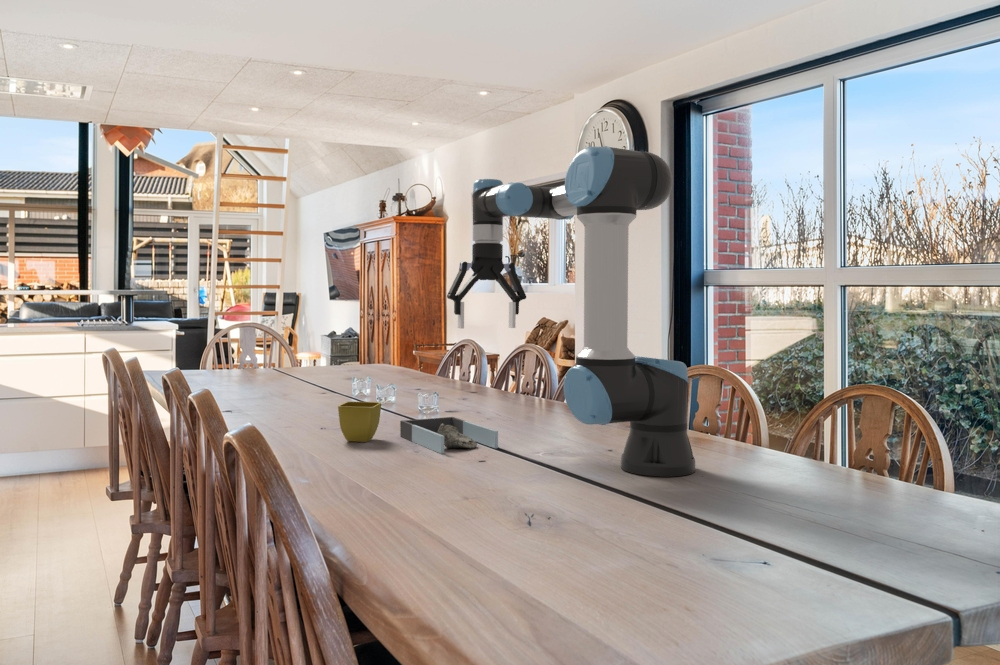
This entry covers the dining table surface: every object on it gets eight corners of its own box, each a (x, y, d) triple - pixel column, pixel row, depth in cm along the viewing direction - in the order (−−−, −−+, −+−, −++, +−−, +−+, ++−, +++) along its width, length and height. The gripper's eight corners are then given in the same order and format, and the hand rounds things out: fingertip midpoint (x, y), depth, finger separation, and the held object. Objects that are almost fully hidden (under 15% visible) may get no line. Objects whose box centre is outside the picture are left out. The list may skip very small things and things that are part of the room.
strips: (497, 448, 192) (498, 431, 192) (440, 453, 185) (441, 436, 185) (465, 436, 207) (465, 420, 207) (411, 441, 200) (411, 425, 200)
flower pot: (382, 437, 205) (382, 401, 204) (373, 444, 196) (373, 406, 196) (347, 436, 206) (347, 401, 205) (337, 443, 197) (337, 406, 197)
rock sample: (472, 436, 186) (453, 408, 191) (446, 457, 186) (428, 428, 191) (489, 448, 195) (471, 421, 200) (464, 468, 195) (446, 441, 200)
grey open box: (465, 436, 207) (465, 420, 207) (411, 441, 200) (411, 425, 200) (453, 432, 214) (453, 416, 213) (400, 436, 207) (400, 420, 206)
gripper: (528, 244, 212) (527, 326, 214) (435, 242, 204) (434, 327, 205) (539, 243, 205) (538, 328, 207) (443, 240, 197) (443, 329, 198)
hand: (486, 328), depth 206 cm, fingers open, 13 cm apart
